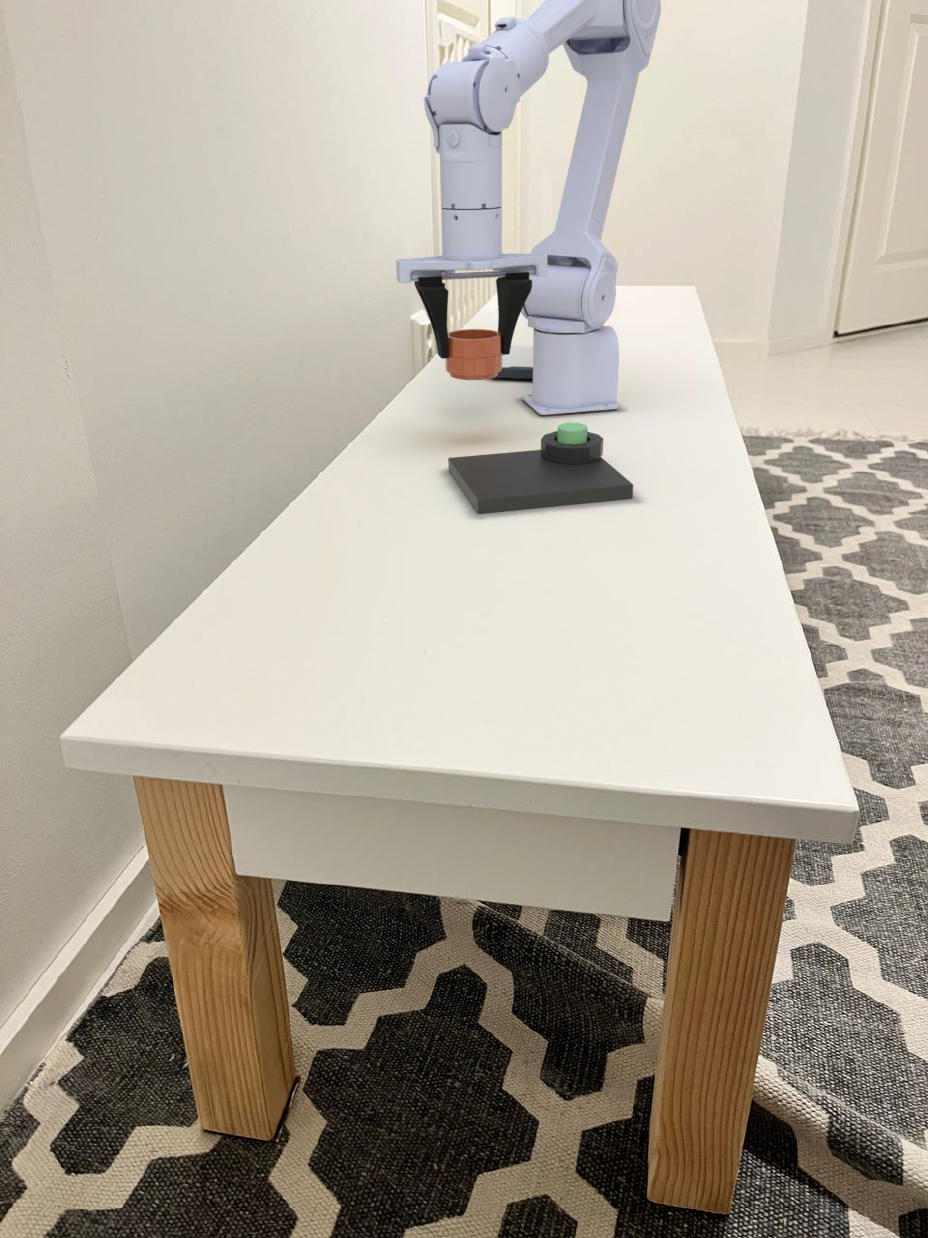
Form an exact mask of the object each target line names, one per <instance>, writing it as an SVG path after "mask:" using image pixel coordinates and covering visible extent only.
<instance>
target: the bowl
mask: <svg viewBox="0 0 928 1238" xmlns="http://www.w3.org/2000/svg"><path fill="white" fill-rule="evenodd" d="M448 343H449V358H444V360H445V361H444V362H445V363H444V364H445V371H446V372H447V373H448V374H449V376H450V377H451V378H453V379H456V380H462V381H484V380H490V379H493V378H496V376H497V375H498V372H500V371H501V370H502V355H503V354H502V334H501V333H500V332H498V330H493V329H487V328H486V329H485V328H467V329H466V328H465V329H457V330H452V331H448Z"/></svg>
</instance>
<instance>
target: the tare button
mask: <svg viewBox="0 0 928 1238" xmlns="http://www.w3.org/2000/svg"><path fill="white" fill-rule="evenodd" d="M557 431H558V433H557V442H559V443H563V444H583V443H586V442H587V432H588V425H586V424H585V423H581V422H564V423H560V424H558V425H557Z"/></svg>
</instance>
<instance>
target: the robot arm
mask: <svg viewBox="0 0 928 1238" xmlns="http://www.w3.org/2000/svg"><path fill="white" fill-rule="evenodd" d="M661 12H662V3H661V0H544V1H543V2H542V3H541V4H540V5H539V6H538V8H537V9H536V10H535V11H534V12H533V13H532V14H531V15H530V16H529V17H528V18H527V19H524V18H521V17H519V18H518V17H515V16H507V17H506V16H505V17H500V18H499V19H498V20H496V22H495V23H494V29H495V30H494V31H493V32H492V33H491V34H490V35H488V36H487V37H486V38H485V39H484V40H482V41H481V42H478V43H473V44H472V45H471V46H469V47H468V49H467V53H468V54H466V55H465V56H464V57H463V58H462V59H461V60H460V61H452V62H451V61H449V62H444V63H442V64H441V65H439V67H438V68H437V69H436V71H434V73H433V74H432V75H431V77H430V79H429V81H428V84H427V88H426V96H424V97H423V106H424V111H425V115H426V118H427V121H428V123H429V124H430V125H429V126H430V127H431V130H432V134H433V147H434V148H435V152H436V153H437V154H439V180H440V184H439V185H440V213H441V215H440V217H441V219H440V220H441V221H440V222H441V255H437V256H424V257H415V258H414V257H413V258H398V259H396V260H395V268H396V271H395V272H396V281H397V282H398V283H400V284H409V283H412V282H414V287H415V289H416V292H417V293H418V296H419V297H420V300H421V302H422V304H423V307H424V309H425V312H426V314H427V316H428V319H429V321H430V322H429V323H430V325H431V328H432V331H433V335H434V340H435V343H436V350H437V356H439V358H440V359H442V360H443V359H444V360H445V358H449V343H448V332H449V331H448V306H449V305H448V302H449V289H447V288H446V282H443V281H447V280H452V281H453V280H468V279H489V278H490V279H491V278H492V279H493V278H496V279H495V286H496V295H497V297H496V298H497V311H498V312H497V313H498V320H497V321H498V322H497V323H498V324H497V331H498V332H500V333H501V334H502V355H508V354H510V347H511V346H512V343H513V337H514V334H515V331H516V326H517V323H518V320H519V317H520V315H521V314H522V316H523V318H525V319H526V320H527V327H528V328H532V329H533V335H532V336H533V337H532V338H533V340H532V342H533V343H532V346H533V379H532V393H529V394H522V395H521V399H522V400H523V402H525V403H526V404H527V405H528V406H530V407H531V408H532V409H533V410H534V412H536V413H537V414H538V415H540V416H549V415H562V414H573V413H584V412H585V413H587V412H599V411H609V410H610V411H611V410H618V409H619V406H620V405H619V404H618V403H617V400H618V384H619V383H618V382H619V381H618V379H619V366H620V365H619V363H620V346H619V345H620V344H619V340H618V336H617V332H616V331H615V328H614V327H613V326H610V325H605V323H606V322H607V321H608V319H609V318H610V316H611V315H612V313H613V311H614V307H615V304H616V297H617V287H616V283H617V275H618V274H617V272H618V268H619V264H618V262H617V260H616V258H615V256H614V254H612V252H611V251H610V250H609V249H608V248H607V247H606V245H605V244H604V242H603V241H602V236H603V232H604V228H605V223H606V219H607V214H608V211H609V205H610V202H611V197H612V193H613V189H614V184H615V181H616V177H617V171H618V167H619V163H620V160H621V159H620V158H621V154H622V150H623V146H624V141H625V137H626V133H627V129H628V124H629V119H630V117H631V112H632V107H633V103H634V99H635V95H636V90H637V85H638V81H639V76H640V73H641V72H643V71H644V70H645V69H646V68H647V67H648V66H649V64H650V59H651V55H652V51H653V49H654V43H655V41H656V35H657V32H658V31H657V30H658V26H659V22H660V18H661ZM560 46H563V48H564V51H565V53H566V55H567V58H568V60H569V62H570V65H571V67H572V69H573V71H574V72H576V73H578V74H579V75H581V76H582V77H584V78H585V79H586V83H587V84H586V85H587V86H586V92H585V95H584V100H583V104H582V109H581V113H580V117H579V121H578V126H577V130H576V135H575V139H574V143H573V148H572V153H571V157H570V161H569V165H568V166H569V167H568V170H567V174H566V178H565V184H564V187H563V191H562V192H563V193H562V197H561V201H560V206H559V210H558V214H557V219H556V223H555V227H554V230H553V231H552V233H550V234H549V235H548V236H547V237H545V238H544V239H542V240H540V242H538V243H537V244H535V246H533V247H532V248H531V250H530V251H531V252H530V253H503V207H502V206H503V177H502V176H503V131H504V130H507V129H509V128H510V126H511V124H512V122H513V119H514V117H515V112H516V108H517V105H518V103H519V102H520V101H521V97H522V96H523V95H524V94H526V93H527V91H529V90H530V89H531V88H532V87H533V86H534V85H535V84H536V83H538V81H539V80H540V79H542V77H543V76H544V75H545V73H546V71H547V69H548V66H549V61H550V54H552V53H553V52H554V51H556V50H557V49H558V48H559V47H560ZM485 270H487V271H485ZM488 270H491V271H488ZM456 271H470V272H456ZM471 271H472V272H471ZM473 271H474V272H473Z"/></svg>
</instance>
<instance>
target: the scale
mask: <svg viewBox="0 0 928 1238" xmlns="http://www.w3.org/2000/svg"><path fill="white" fill-rule="evenodd" d="M557 433H558V430H555V431H552V432H549V433H546V434H544V435H543V436H542V437H541V438H540V449H534V450H533V449H532V450H523V451H521V450H520V451H510V452H501V453H500V452H499V453H488V454H478V455H465V456H455V457H448V459H447V461H448V462H447V463H448V472H449V474H450V476H451V477H452V479H454V482H455V483H456V484H457V486H458V487H459V489H460V490H461V492H462V493H463V495H464V496H465V498H466V499H467V500H468V502H469V503H470V505H471V507H472V508H473V510H474V511H475V512H476V514H477V515H485V514H494V513H504V512H516V511H523V510H524V511H525V510H534V509H543V508H545V509H546V508H555V507H565V506H575V505H585V504H595V503H604V502H605V503H606V502H615V501H623V500H624V501H625V500H633V497H634V495H633V494H634V484H633V483H632V482H631V481H630V480H628V479H627V478H626V477H625V476H624V475H623V474H622V473H621V472H619V471H618V470H617V469H615V468H614V467H613V466H612V465H611V464H610V463H609V462H608V461H606V460H605V459H604V458H603V454H604V437H602V436H601V435H600V434H598V433H594V432H590V431H587V442H586V443H583V444H563V443H559V442H557Z"/></svg>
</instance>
